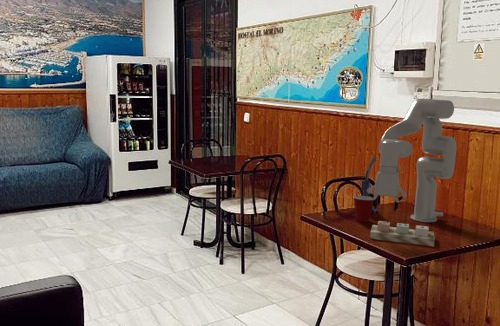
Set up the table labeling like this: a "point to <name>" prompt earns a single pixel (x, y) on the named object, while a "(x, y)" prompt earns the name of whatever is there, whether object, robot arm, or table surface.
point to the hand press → (368, 182)
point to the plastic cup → (363, 207)
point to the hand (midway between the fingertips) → (384, 209)
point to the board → (402, 236)
